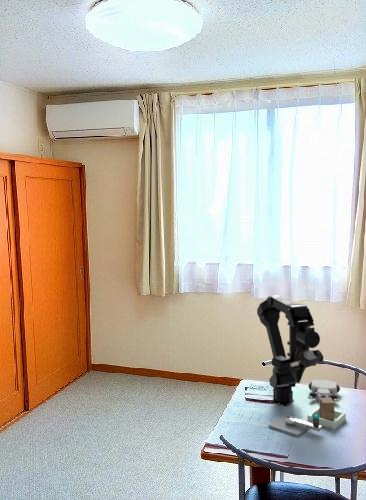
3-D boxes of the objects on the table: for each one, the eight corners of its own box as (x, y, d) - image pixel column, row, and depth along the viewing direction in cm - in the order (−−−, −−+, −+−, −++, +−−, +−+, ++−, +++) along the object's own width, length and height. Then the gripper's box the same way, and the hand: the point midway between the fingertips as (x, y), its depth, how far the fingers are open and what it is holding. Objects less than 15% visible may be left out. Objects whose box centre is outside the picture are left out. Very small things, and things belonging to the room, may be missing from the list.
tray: (307, 422, 161) (307, 415, 160) (319, 412, 168) (319, 405, 168) (334, 430, 154) (334, 423, 154) (345, 419, 162) (345, 413, 161)
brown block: (319, 417, 163) (319, 397, 163) (330, 416, 163) (330, 397, 162) (322, 422, 159) (322, 402, 159) (334, 422, 159) (334, 402, 158)
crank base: (268, 427, 158) (268, 424, 158) (284, 415, 166) (284, 413, 166) (297, 437, 150) (297, 434, 150) (313, 424, 159) (313, 422, 159)
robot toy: (340, 409, 173) (340, 390, 187) (340, 397, 172) (340, 380, 186) (306, 405, 177) (308, 387, 191) (306, 394, 176) (308, 377, 190)
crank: (283, 423, 158) (283, 408, 157) (288, 419, 161) (288, 405, 160) (317, 434, 150) (317, 418, 150) (322, 429, 153) (322, 414, 152)
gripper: (290, 349, 153) (290, 395, 154) (334, 342, 160) (334, 385, 162) (270, 341, 163) (270, 384, 164) (313, 334, 170) (312, 375, 172)
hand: (297, 382), depth 165 cm, fingers closed
